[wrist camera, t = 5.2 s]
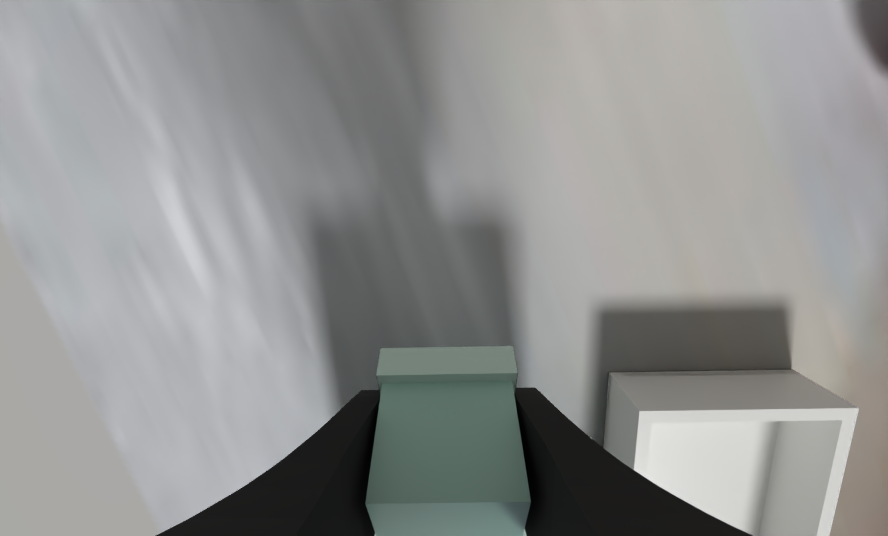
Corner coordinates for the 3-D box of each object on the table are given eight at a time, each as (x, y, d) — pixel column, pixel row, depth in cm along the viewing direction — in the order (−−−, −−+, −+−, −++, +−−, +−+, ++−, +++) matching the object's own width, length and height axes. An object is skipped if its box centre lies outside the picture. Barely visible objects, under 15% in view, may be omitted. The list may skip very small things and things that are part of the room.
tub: (752, 586, 21) (801, 655, 18) (592, 588, 21) (616, 655, 18) (792, 369, 18) (858, 408, 15) (608, 372, 18) (639, 411, 15)
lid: (538, 548, 21) (556, 666, 18) (370, 549, 21) (356, 667, 18) (612, 313, 11) (693, 492, 7) (282, 320, 11) (206, 498, 7)
